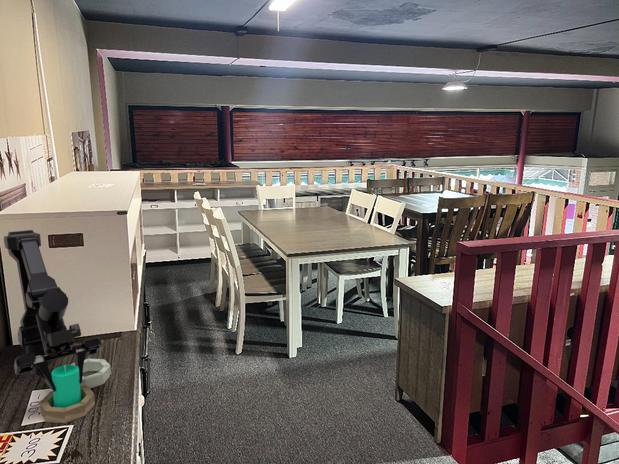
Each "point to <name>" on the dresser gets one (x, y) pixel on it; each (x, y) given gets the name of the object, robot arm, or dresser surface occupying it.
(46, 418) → the socket
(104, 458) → the dresser surface
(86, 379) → the socket
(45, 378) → the robot arm
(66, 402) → the candle
